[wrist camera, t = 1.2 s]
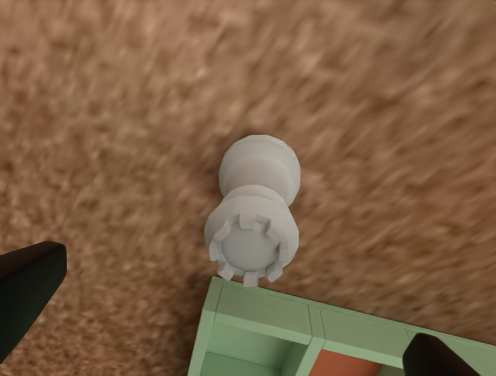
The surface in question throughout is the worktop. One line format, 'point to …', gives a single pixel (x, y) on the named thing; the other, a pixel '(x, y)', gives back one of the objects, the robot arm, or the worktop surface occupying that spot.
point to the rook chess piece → (255, 210)
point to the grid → (306, 338)
